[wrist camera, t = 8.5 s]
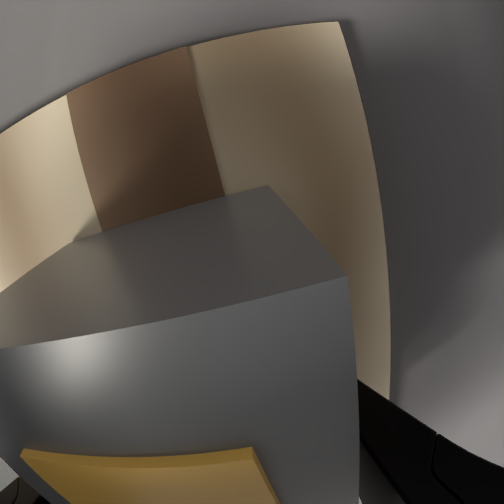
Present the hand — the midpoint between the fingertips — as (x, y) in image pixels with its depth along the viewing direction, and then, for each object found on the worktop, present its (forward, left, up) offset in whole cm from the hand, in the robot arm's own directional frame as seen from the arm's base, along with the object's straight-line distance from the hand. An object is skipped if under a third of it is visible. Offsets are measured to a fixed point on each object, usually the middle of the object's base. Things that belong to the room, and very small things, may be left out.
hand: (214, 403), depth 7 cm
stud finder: (0, 0, -1) cm, 1 cm away
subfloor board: (-5, 0, -2) cm, 6 cm away
